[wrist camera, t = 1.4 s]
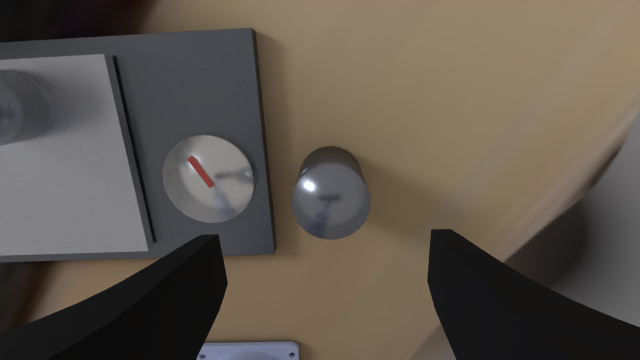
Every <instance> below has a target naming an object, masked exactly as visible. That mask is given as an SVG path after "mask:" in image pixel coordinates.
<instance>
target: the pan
mask: <svg viewBox="0 0 640 360" xmlns="http://www.w3.org/2000/svg"><path fill="white" fill-rule="evenodd" d="M0 70H11V71H14V72H17V73H19V74H21V75H23V76H25V77H26V78H28V79H29V80H30V81H31V82H32V83H33V84H34V85H35V86H36V87H37V88H38V89H39V91H40V92H41V94H42V96H43V98H44V100H45V103H46V106H47V112H48V119H47V124H46V126H45V128H44V130H43V131H42V133H41V134H40V135H39V136H37V137H36V138H34V139H31V140H28V141H23V142H18V143H13V144H8V145H3V146H0V256H4V255H37V254H70V253H103V252H135V251H149V250H150V249H151V248H152V247H153V246H154V243H153V239H152V234H151V230H150V225H149V221H148V216H147V212H146V207H145V203H144V198H143V194H142V189H141V185H140V180H139V176H138V171H137V166H136V162H135V157H134V153H133V148H132V144H131V139H130V135H129V130H128V126H127V121H126V117H125V112H124V108H123V103H122V98H121V94H120V89H119V85H118V80H117V76H116V71H115V67H114V62H113V58H112V55H108V54H95V55H78V56H60V57H42V58H25V59H7V60H0Z"/></svg>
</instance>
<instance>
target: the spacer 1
mask: <svg viewBox="0 0 640 360" xmlns="http://www.w3.org/2000/svg"><path fill="white" fill-rule="evenodd" d="M47 119H48V112H47V106H46V103H45V100H44V98H43V96H42V94H41V92H40V91H39V89H38V88H37V87H36V86H35V85H34V84H33V83H32V82H31V81H30V80H29V79H28V78H26V77H25V76H23V75H21V74H19V73H17V72H14V71H11V70H0V146H3V145H8V144H13V143H18V142H23V141H28V140H31V139H34V138H36V137H37V136H39V135H40V134H41V133H42V131H43V130H44V128H45V126H46V124H47Z"/></svg>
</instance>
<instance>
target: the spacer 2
mask: <svg viewBox="0 0 640 360" xmlns="http://www.w3.org/2000/svg"><path fill="white" fill-rule="evenodd" d="M369 209H370V196H369V192H368V189H367V187H366V184H365V181H364V178H363V175H362V172H361V169H360V166H359V164H358V162H357V160H356V159H355V157H354V156H353V155H352V154H351V153H349V152H348V151H346V150H344V149H342V148H339V147H334V146H328V147H322V148H319V149H317V150H315V151H313V152H312V153H311V154H310V155H308V156H307V158H306V159H305V161H304V162H303V164H302V167H301V170H300V173H299V176H298V179H297V182H296V185H295V188H294V192H293V195H292V210H293V214H294V216H295V219H296V220H297V222H298V223H299V225H300V226H301V227H302V228H303V229H304V230H305V231H307V232H308V233H310V234H311V235H313V236H316V237H318V238H322V239H340V238H343V237H346V236H349V235H351V234H352V233H354V232H355V231H357V230H358V229H359V228H360V227H361V226H362V225H363V223H364V222H365V220H366V218H367V216H368V213H369Z"/></svg>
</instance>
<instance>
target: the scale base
mask: <svg viewBox="0 0 640 360" xmlns="http://www.w3.org/2000/svg"><path fill="white" fill-rule="evenodd" d="M95 54H108V55H112V58H113V62H114V67H115V71H116V76H117V80H118V85H119V89H120V94H121V98H122V103H123V108H124V112H125V117H126V121H127V126H128V130H129V135H130V139H131V144H132V148H133V153H134V157H135V162H136V166H137V171H138V176H139V180H140V185H141V189H142V194H143V198H144V203H145V207H146V212H147V216H148V221H149V225H150V230H151V234H152V239H153V243H154V246H153V247H152V248H151V249H150V250H149V251H135V252H103V253H70V254H37V255H4V256H0V262H24V261H58V260H92V259H125V258H159V257H164V256H166V255H167V254H169V253H171V252H172V251H174V250H175V249H177V248H179V247H180V246H182V245H183V244H185V243H187V242H188V241H190V240H192V239H194V238H196V237H198V236H200V235H206V234H219V239H220V244H221V250H222V255H223V256H226V255H260V254H274V253H275V250H276V247H277V246H276V236H275V226H274V216H273V206H272V195H271V185H270V175H269V165H268V155H267V145H266V135H265V124H264V114H263V104H262V94H261V84H260V74H259V63H258V53H257V43H256V33H255V30H254V29H252V28H240V29H223V30H206V31H189V32H172V33H155V34H138V35H121V36H104V37H87V38H70V39H53V40H36V41H19V42H2V43H0V60H7V59H25V58H42V57H60V56H78V55H95Z"/></svg>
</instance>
